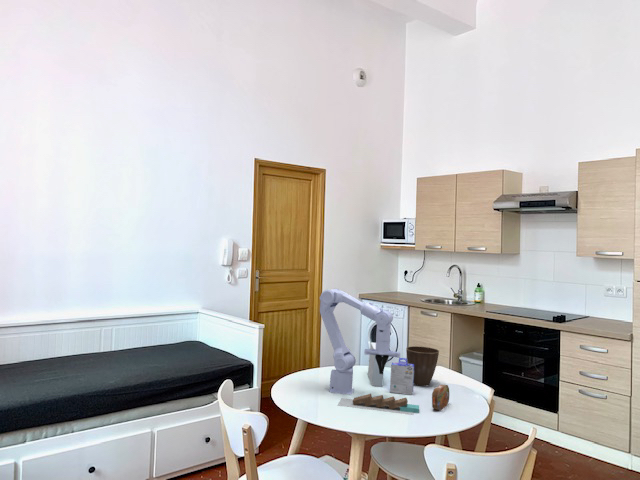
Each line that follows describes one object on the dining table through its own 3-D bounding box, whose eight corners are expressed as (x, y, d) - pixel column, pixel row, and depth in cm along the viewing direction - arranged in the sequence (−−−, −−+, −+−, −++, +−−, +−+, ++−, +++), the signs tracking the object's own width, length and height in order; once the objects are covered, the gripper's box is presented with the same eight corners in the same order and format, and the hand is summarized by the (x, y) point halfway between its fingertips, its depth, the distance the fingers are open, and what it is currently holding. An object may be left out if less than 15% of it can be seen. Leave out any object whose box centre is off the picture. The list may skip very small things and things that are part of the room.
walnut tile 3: (375, 403, 190) (393, 399, 188) (376, 400, 194) (394, 396, 193) (377, 408, 190) (394, 403, 188) (378, 404, 194) (395, 400, 193)
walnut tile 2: (364, 402, 191) (381, 398, 189) (365, 399, 195) (382, 394, 194) (365, 406, 191) (382, 402, 189) (366, 403, 195) (383, 398, 194)
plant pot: (399, 379, 234) (401, 346, 234) (428, 379, 237) (430, 346, 237) (412, 389, 219) (414, 353, 219) (443, 388, 223) (444, 353, 223)
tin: (437, 413, 188) (438, 391, 188) (429, 411, 190) (430, 389, 190) (449, 403, 201) (450, 383, 201) (442, 402, 203) (443, 381, 203)
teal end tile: (400, 406, 188) (419, 408, 186) (401, 403, 192) (419, 405, 190) (400, 410, 188) (418, 413, 186) (400, 407, 192) (419, 409, 190)
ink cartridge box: (413, 391, 215) (414, 358, 215) (412, 395, 210) (414, 361, 210) (390, 389, 217) (392, 356, 217) (389, 392, 212) (391, 359, 212)
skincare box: (383, 387, 220) (385, 351, 221) (371, 386, 220) (373, 350, 221) (378, 374, 241) (380, 342, 242) (367, 374, 242) (369, 341, 242)
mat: (337, 406, 190) (337, 405, 190) (341, 398, 200) (341, 397, 200) (413, 415, 184) (413, 414, 184) (414, 407, 194) (414, 406, 194)
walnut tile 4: (388, 405, 189) (405, 400, 187) (389, 402, 193) (406, 397, 192) (389, 409, 189) (406, 404, 187) (390, 405, 193) (407, 401, 192)
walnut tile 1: (352, 401, 192) (369, 396, 190) (354, 397, 196) (370, 393, 195) (353, 405, 192) (370, 400, 190) (355, 401, 196) (372, 397, 195)
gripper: (364, 340, 200) (362, 373, 200) (400, 343, 197) (398, 377, 197) (366, 337, 207) (364, 369, 207) (401, 340, 204) (399, 373, 204)
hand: (381, 373), depth 203 cm, fingers closed
